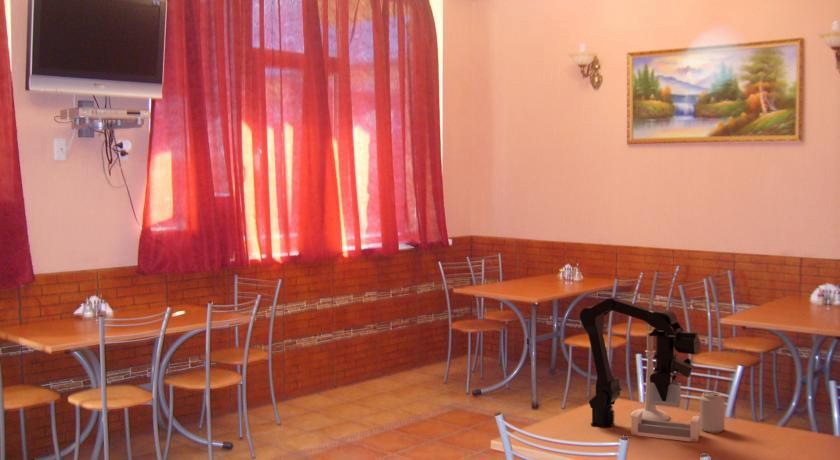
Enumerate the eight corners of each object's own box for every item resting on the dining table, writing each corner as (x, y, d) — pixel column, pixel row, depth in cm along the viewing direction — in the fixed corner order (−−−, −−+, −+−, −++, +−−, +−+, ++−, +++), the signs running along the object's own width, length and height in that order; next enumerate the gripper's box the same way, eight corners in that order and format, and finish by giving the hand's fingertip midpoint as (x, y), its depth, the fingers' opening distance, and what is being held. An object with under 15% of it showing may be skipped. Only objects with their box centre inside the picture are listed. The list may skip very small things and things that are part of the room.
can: (726, 434, 265) (726, 396, 264) (701, 433, 266) (701, 395, 265) (722, 427, 272) (722, 391, 271) (698, 426, 273) (698, 390, 273)
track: (631, 434, 265) (631, 416, 265) (636, 428, 272) (636, 409, 272) (697, 442, 257) (697, 422, 256) (700, 434, 264) (700, 416, 264)
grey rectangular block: (649, 404, 264) (649, 382, 264) (651, 402, 267) (651, 380, 266) (679, 407, 260) (679, 385, 260) (680, 404, 263) (680, 383, 262)
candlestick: (636, 422, 279) (636, 333, 277) (626, 412, 291) (626, 327, 290) (674, 422, 279) (674, 333, 277) (662, 411, 292) (663, 326, 290)
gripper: (687, 358, 251) (686, 409, 251) (695, 347, 267) (695, 395, 268) (649, 355, 256) (649, 405, 256) (660, 345, 272) (660, 392, 273)
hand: (664, 399), depth 263 cm, fingers closed on grey rectangular block, 3 cm apart
